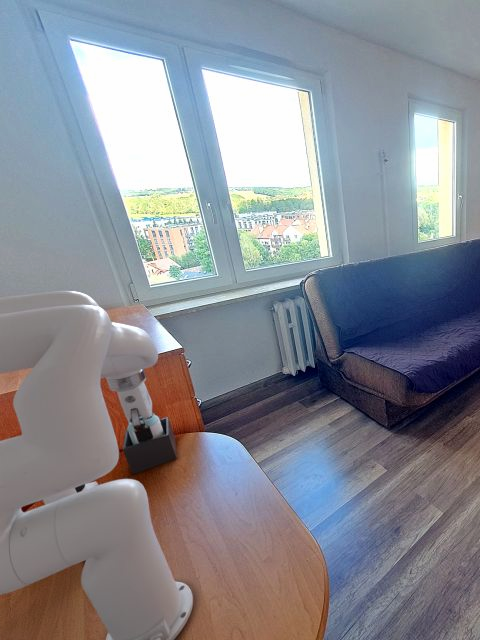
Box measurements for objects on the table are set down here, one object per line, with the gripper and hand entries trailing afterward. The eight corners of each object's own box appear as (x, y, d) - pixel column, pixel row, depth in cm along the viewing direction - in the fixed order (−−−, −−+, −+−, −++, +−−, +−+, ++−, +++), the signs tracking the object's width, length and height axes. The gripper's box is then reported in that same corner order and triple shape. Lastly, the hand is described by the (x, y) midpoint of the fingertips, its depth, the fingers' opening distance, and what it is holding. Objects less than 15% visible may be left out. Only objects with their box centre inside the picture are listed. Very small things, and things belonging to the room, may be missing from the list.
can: (158, 441, 102) (146, 408, 98) (174, 446, 100) (163, 413, 95) (132, 457, 96) (119, 423, 91) (149, 463, 93) (136, 428, 89)
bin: (176, 458, 98) (168, 434, 94) (132, 474, 92) (122, 449, 89) (175, 439, 105) (168, 416, 102) (134, 453, 99) (125, 429, 96)
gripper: (143, 388, 84) (163, 444, 91) (145, 362, 97) (163, 413, 104) (103, 398, 80) (127, 456, 86) (111, 370, 93) (131, 422, 99)
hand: (146, 432), depth 95 cm, fingers closed on can, 7 cm apart
